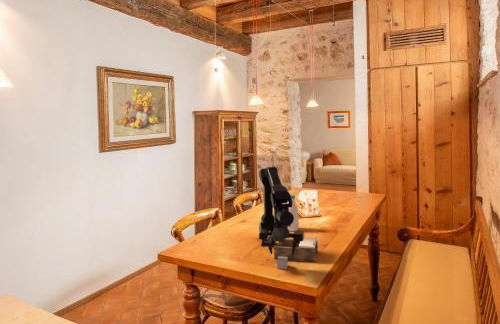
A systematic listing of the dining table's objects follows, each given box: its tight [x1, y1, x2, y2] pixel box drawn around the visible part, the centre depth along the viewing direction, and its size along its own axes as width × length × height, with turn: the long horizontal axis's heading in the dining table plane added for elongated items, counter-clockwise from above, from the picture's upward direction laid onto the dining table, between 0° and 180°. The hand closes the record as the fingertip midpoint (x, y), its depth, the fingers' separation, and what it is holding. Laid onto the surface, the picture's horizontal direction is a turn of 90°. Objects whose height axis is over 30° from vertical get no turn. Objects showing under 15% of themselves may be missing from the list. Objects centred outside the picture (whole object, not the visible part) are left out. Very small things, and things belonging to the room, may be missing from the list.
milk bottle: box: [288, 194, 300, 232], centre depth 210 cm, size 8×8×20 cm
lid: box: [299, 236, 318, 248], centre depth 170 cm, size 7×12×2 cm, turn 165°
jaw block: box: [276, 256, 289, 270], centre depth 159 cm, size 4×4×4 cm
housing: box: [273, 238, 319, 263], centre depth 172 cm, size 18×12×6 cm, turn 75°
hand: (282, 254), depth 159 cm, fingers open, 9 cm apart
